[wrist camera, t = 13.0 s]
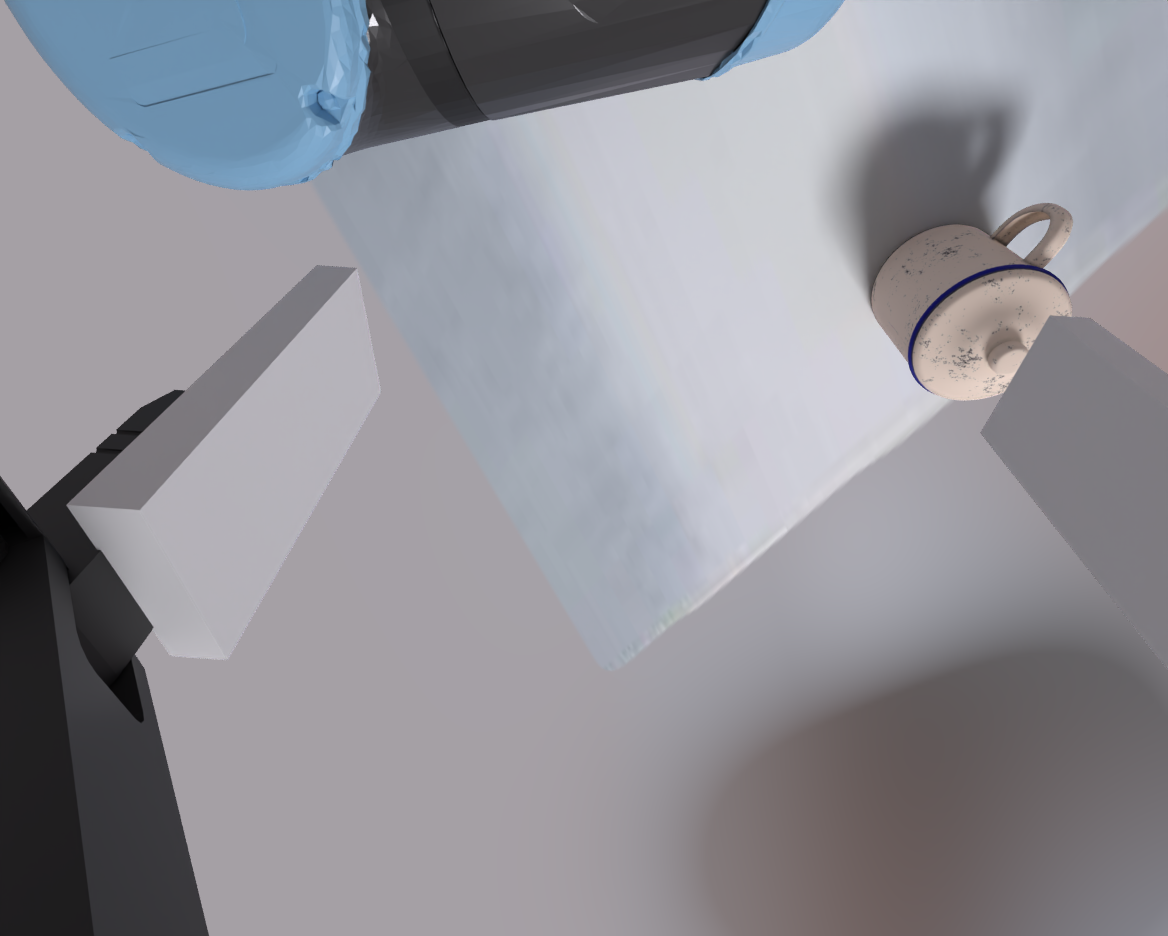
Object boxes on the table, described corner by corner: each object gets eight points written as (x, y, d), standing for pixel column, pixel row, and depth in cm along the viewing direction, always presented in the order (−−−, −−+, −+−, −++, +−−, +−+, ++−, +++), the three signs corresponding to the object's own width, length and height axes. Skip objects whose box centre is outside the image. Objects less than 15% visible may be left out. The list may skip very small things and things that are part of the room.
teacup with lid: (933, 356, 47) (1007, 445, 38) (840, 311, 45) (894, 394, 36) (1067, 213, 40) (1195, 281, 31) (963, 152, 38) (1068, 206, 29)
